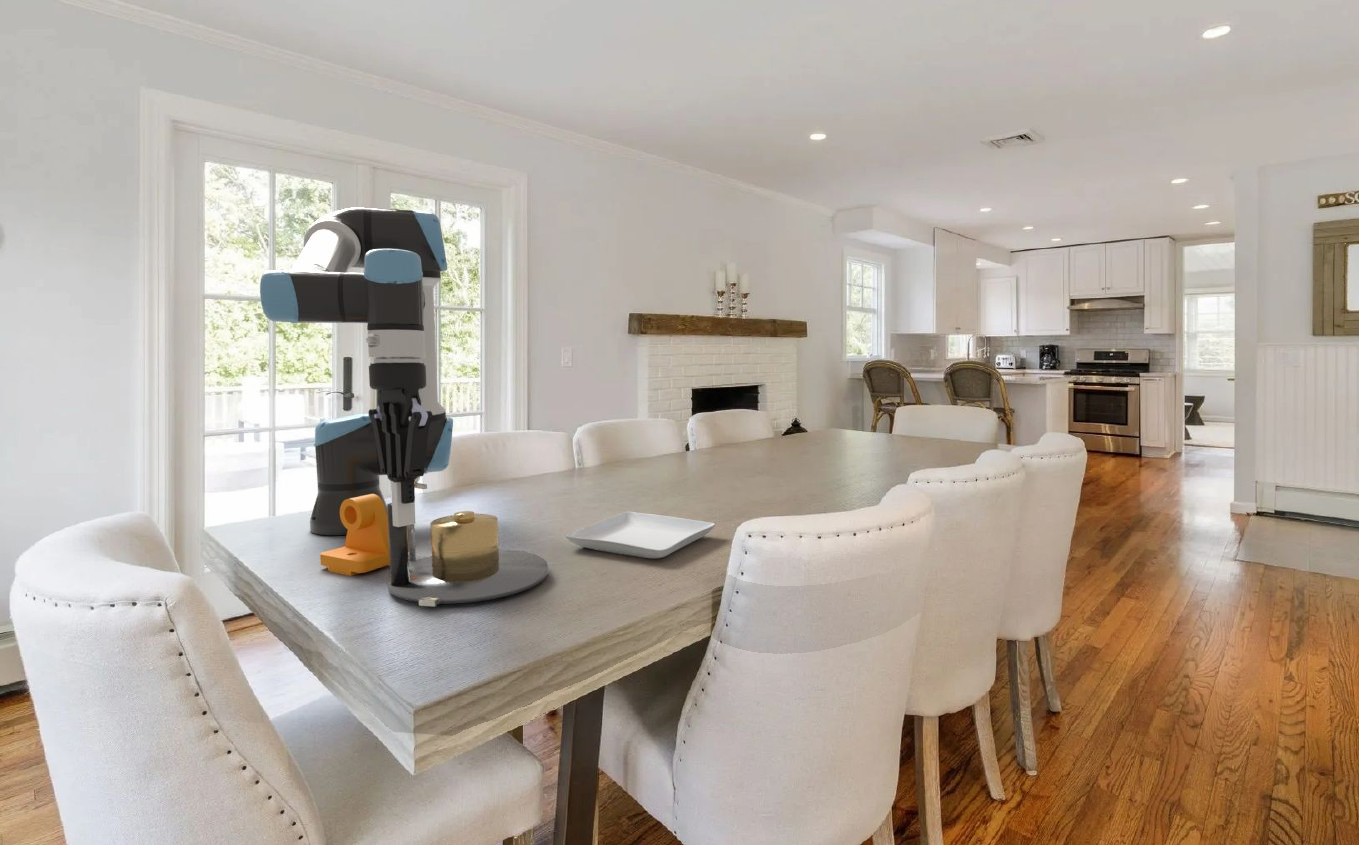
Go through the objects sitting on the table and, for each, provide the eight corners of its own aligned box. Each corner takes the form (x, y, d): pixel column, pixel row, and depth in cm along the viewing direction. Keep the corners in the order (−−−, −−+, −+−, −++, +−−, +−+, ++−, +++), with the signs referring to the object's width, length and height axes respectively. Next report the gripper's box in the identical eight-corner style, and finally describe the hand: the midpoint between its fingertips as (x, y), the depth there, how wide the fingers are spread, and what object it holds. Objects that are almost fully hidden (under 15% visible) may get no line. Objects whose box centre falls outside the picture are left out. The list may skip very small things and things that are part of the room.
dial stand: (390, 569, 116) (385, 459, 114) (404, 561, 120) (399, 455, 118) (428, 570, 115) (424, 459, 113) (441, 562, 119) (436, 456, 117)
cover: (420, 571, 108) (418, 514, 107) (477, 557, 116) (475, 503, 115) (453, 585, 101) (451, 524, 101) (511, 570, 109) (510, 512, 108)
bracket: (318, 569, 116) (314, 498, 115) (355, 558, 122) (352, 491, 121) (361, 578, 111) (358, 504, 110) (398, 566, 117) (395, 496, 116)
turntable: (361, 577, 108) (357, 496, 107) (496, 546, 126) (494, 476, 125) (434, 616, 92) (430, 521, 91) (578, 575, 109) (576, 493, 108)
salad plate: (663, 568, 116) (663, 548, 116) (563, 551, 127) (562, 533, 126) (718, 538, 135) (718, 521, 135) (626, 526, 145) (626, 510, 145)
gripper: (348, 361, 99) (356, 523, 101) (397, 361, 91) (405, 536, 93) (397, 361, 105) (403, 514, 107) (447, 361, 97) (453, 525, 99)
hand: (404, 524), depth 100 cm, fingers closed
